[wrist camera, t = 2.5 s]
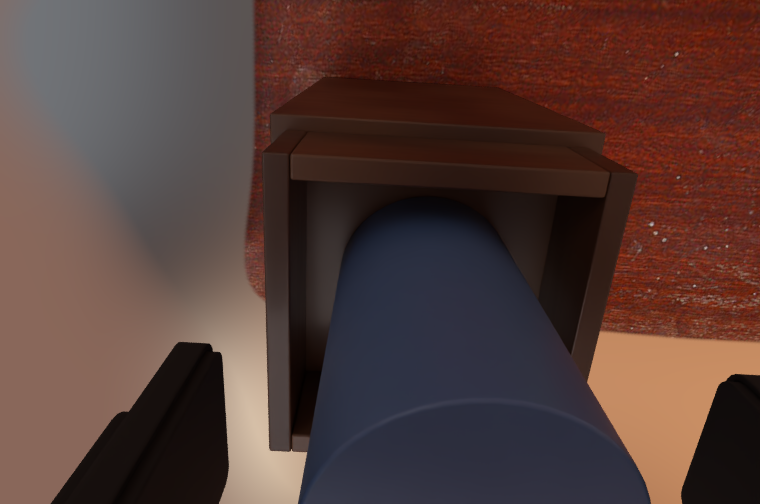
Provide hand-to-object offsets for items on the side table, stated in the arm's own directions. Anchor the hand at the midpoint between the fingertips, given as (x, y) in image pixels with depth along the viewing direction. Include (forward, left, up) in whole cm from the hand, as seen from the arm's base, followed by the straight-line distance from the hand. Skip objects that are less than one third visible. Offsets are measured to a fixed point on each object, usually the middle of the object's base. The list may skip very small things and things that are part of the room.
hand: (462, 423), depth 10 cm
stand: (0, 0, -20) cm, 20 cm away
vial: (0, 0, -6) cm, 6 cm away
